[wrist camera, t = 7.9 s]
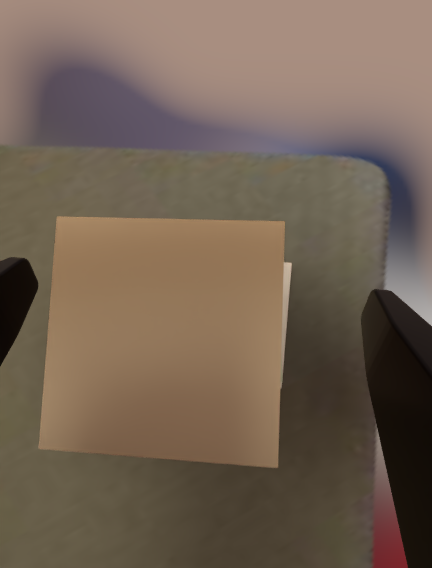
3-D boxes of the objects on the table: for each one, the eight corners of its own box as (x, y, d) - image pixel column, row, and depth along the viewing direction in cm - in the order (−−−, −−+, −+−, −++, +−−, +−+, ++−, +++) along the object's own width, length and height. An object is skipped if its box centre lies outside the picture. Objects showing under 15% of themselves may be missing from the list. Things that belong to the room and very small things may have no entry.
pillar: (256, 368, 17) (277, 467, 6) (165, 363, 17) (38, 449, 6) (258, 276, 17) (284, 221, 6) (169, 273, 17) (57, 216, 7)
